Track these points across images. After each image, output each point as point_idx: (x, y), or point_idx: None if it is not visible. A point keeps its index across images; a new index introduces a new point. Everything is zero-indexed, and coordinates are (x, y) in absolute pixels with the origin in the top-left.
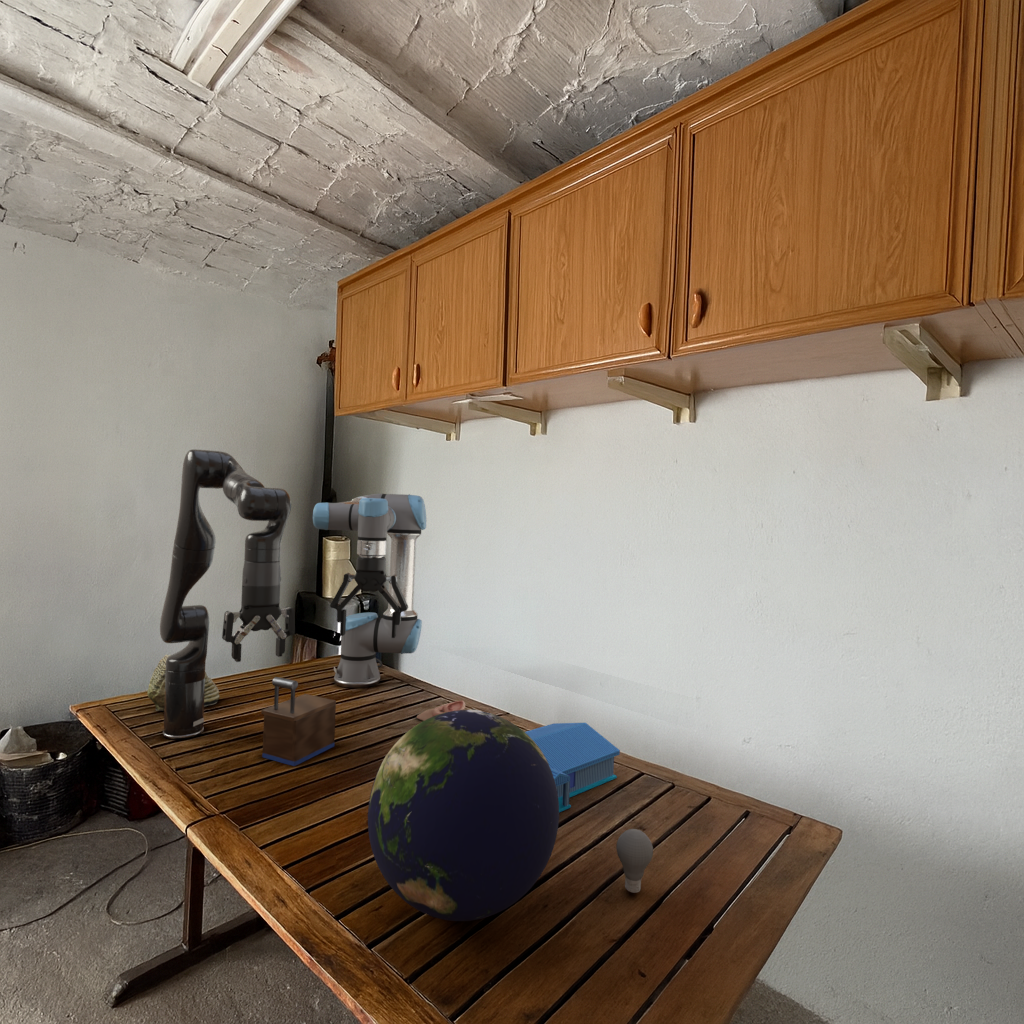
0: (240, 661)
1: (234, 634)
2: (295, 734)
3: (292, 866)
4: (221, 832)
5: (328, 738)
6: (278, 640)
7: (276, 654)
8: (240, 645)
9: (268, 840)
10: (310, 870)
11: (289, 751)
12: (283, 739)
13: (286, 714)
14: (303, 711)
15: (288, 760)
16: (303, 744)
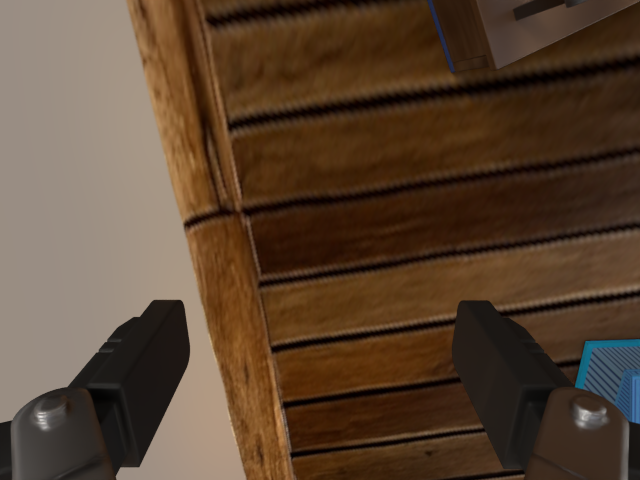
0: (189, 352)
1: (16, 466)
2: (483, 67)
3: (294, 408)
4: (230, 277)
5: None
6: (504, 434)
7: (460, 315)
8: (134, 458)
9: (287, 337)
10: (310, 425)
11: (456, 50)
12: (459, 20)
13: (494, 18)
14: (561, 20)
15: (447, 51)
16: None
